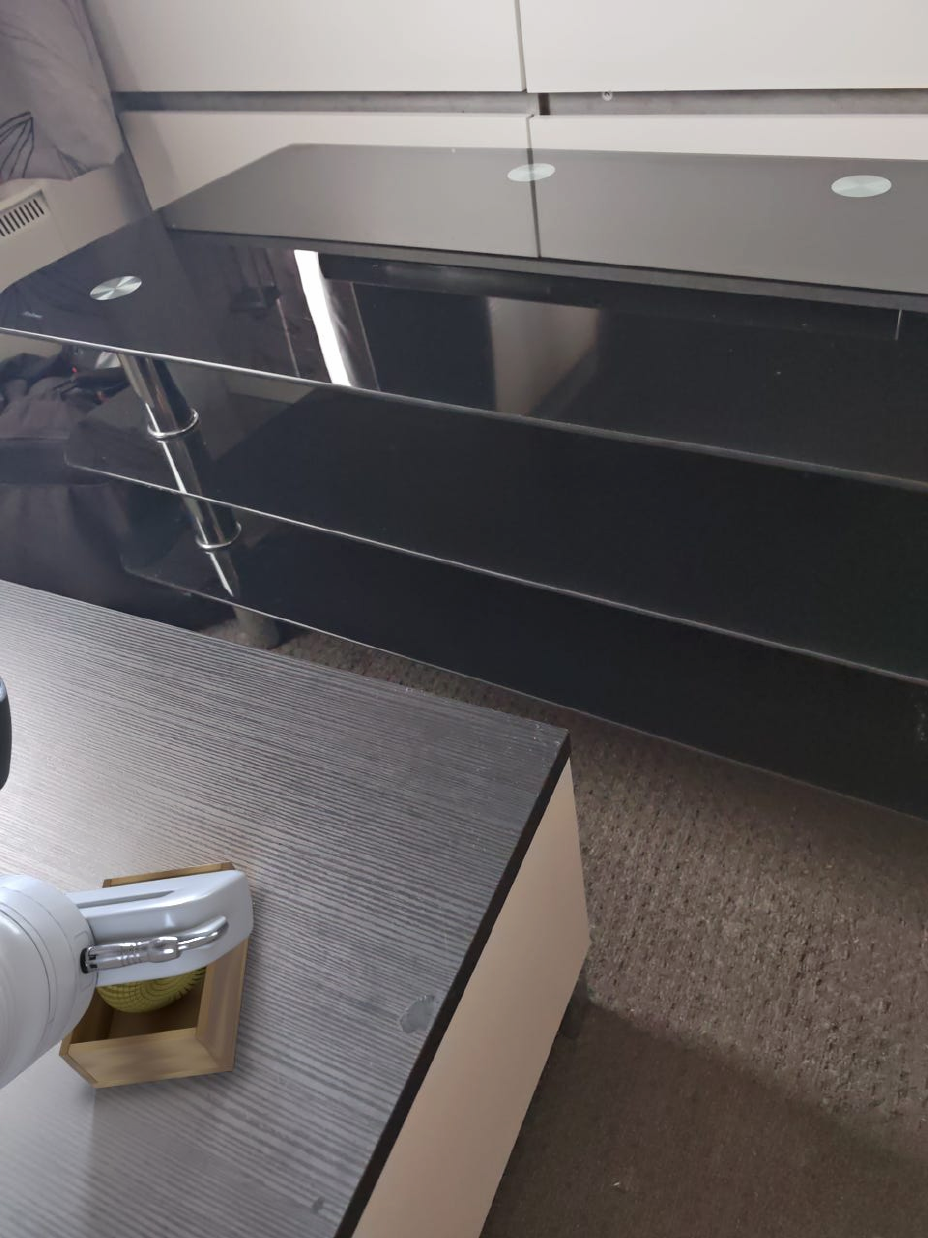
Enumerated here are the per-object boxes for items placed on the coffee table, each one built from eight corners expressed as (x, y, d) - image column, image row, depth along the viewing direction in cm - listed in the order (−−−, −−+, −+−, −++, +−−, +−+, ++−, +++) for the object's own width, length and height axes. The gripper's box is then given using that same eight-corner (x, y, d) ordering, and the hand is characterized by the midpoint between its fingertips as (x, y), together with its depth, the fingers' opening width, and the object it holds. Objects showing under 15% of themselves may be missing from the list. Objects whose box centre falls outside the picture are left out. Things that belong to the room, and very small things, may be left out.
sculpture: (139, 1046, 60) (87, 989, 55) (114, 1003, 62) (62, 944, 57) (242, 963, 63) (203, 902, 58) (215, 925, 66) (174, 863, 60)
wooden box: (94, 1089, 59) (57, 1055, 56) (133, 917, 68) (103, 879, 65) (233, 1071, 59) (205, 1035, 55) (253, 900, 68) (230, 860, 64)
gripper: (197, 878, 43) (276, 825, 56) (-219, 937, 44) (-42, 871, 58) (215, 1015, 42) (290, 928, 56) (-204, 1071, 43) (-30, 972, 57)
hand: (119, 900), depth 57 cm, fingers open, 8 cm apart
